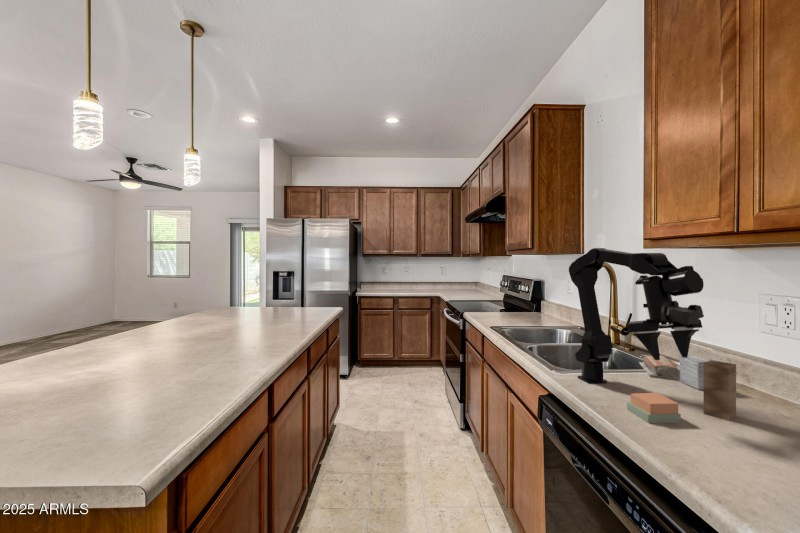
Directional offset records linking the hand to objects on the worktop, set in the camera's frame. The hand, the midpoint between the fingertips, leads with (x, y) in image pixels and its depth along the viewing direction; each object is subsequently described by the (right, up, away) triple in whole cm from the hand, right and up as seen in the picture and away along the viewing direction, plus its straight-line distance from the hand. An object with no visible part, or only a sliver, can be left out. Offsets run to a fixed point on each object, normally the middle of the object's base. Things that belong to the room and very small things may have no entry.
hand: (671, 358), depth 96 cm
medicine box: (+22, -14, +20) cm, 33 cm away
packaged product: (+22, -14, +35) cm, 44 cm away
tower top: (-6, -12, -2) cm, 14 cm away
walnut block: (+11, -14, -2) cm, 18 cm away
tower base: (-6, -14, -2) cm, 16 cm away
